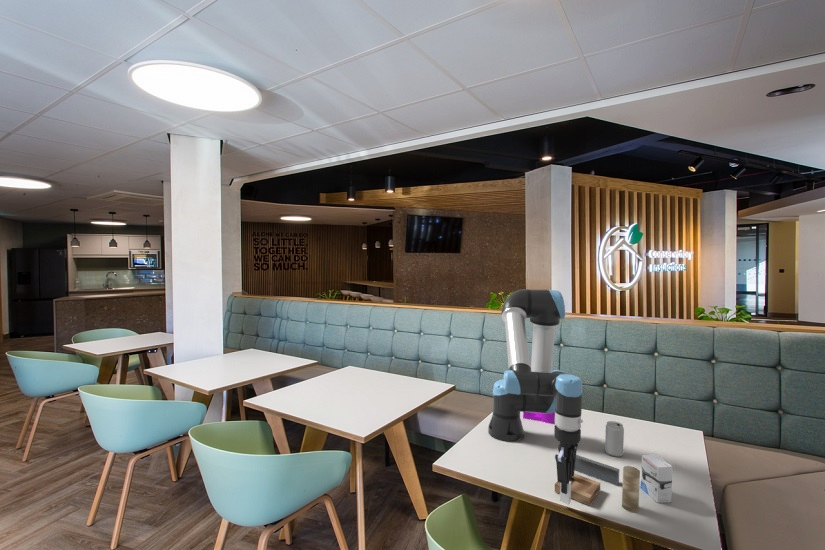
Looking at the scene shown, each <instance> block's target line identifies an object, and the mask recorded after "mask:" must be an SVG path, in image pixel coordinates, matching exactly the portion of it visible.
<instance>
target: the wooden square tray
mask: <svg viewBox="0 0 825 550" xmlns="http://www.w3.org/2000/svg"><path fill="white" fill-rule="evenodd" d="M572 478H574V482H573V481H570V482H571V499H572V500H575V501H577V502H580V503H582V504H584V505H587V506H589V507H590V506H591V504H592V503H593V502H594V500H596V497H597V496H598V494H599V493H600V491H601V482H599V481H596V480H595V479H591V478H588V477H585V476H583V475H581V474H578V473H576V472H574V476H572ZM554 492H555V493H558V494H560V482H558V480H557V481H556V482H555V483H554Z"/></svg>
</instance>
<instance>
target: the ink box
mask: <svg viewBox="0 0 825 550" xmlns="http://www.w3.org/2000/svg"><path fill="white" fill-rule="evenodd" d="M640 470H641V471H640V489H642V491H644V492H645V493H646V494H647V495H648V496H649V497H650V498H651V499H653V500H654V501H655V502H656V503H658V504H659V503H660V504H661V503H662V504H663V503H666V504H667V503H672V491H673V473H674V472H673V471H674V467H673V466H672V465H671V464H669V463H668V461H666V460H665V459H663V457H661V456H659V455H658V454H656V453H650V454H648V453H646V454H645V453H643V454H641V468H640Z"/></svg>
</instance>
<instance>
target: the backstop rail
mask: <svg viewBox="0 0 825 550" xmlns="http://www.w3.org/2000/svg"><path fill="white" fill-rule="evenodd" d="M574 472H578V473H580V474H583V475H586V476H588V477H592V478H594V479H596V480H600V481H603V482H606V483H608V484H611V485H614V486H617V487H618V486H619V485H620V469H619V468H617V467H614V466H610V465H608V464H605V463H603V462H599V461H597V460H593V459H591V458H587V457H584V456H581V455H579V454H576V461H575V470H574Z"/></svg>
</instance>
